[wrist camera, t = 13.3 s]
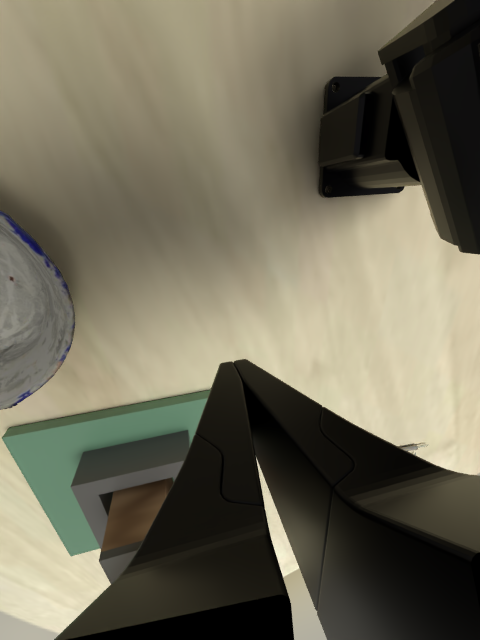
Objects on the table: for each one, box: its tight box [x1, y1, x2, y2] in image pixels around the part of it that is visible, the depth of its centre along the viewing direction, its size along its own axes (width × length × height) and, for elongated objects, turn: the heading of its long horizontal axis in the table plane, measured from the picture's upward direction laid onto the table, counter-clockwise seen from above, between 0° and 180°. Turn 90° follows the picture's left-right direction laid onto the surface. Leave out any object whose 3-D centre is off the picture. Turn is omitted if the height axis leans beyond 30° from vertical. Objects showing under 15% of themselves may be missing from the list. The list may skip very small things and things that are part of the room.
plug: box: [99, 477, 174, 584], centre depth 22 cm, size 4×6×7 cm
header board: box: [2, 390, 210, 556], centre depth 24 cm, size 18×16×4 cm
